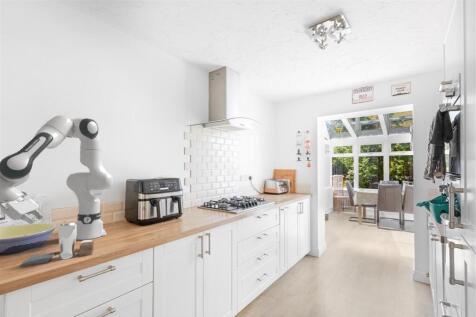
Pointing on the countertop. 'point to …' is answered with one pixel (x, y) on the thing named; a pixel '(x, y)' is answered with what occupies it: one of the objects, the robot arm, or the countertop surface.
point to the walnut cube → (86, 248)
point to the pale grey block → (86, 241)
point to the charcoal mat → (38, 259)
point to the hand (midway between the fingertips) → (37, 220)
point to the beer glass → (67, 240)
